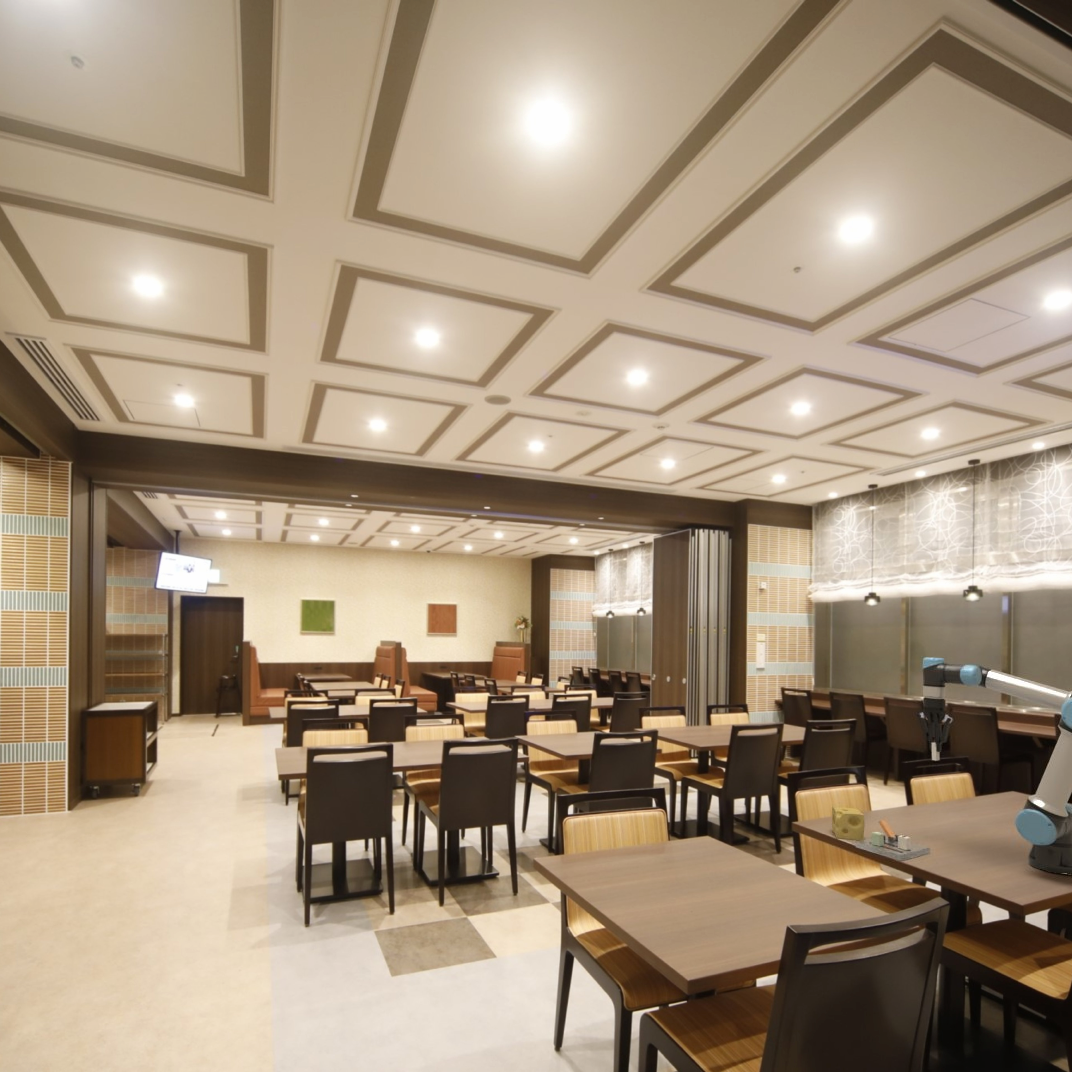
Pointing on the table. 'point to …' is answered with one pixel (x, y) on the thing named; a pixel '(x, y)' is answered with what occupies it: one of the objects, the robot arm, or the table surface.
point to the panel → (893, 848)
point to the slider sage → (877, 838)
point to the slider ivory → (904, 842)
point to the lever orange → (887, 829)
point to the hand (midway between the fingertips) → (935, 760)
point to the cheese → (847, 823)
